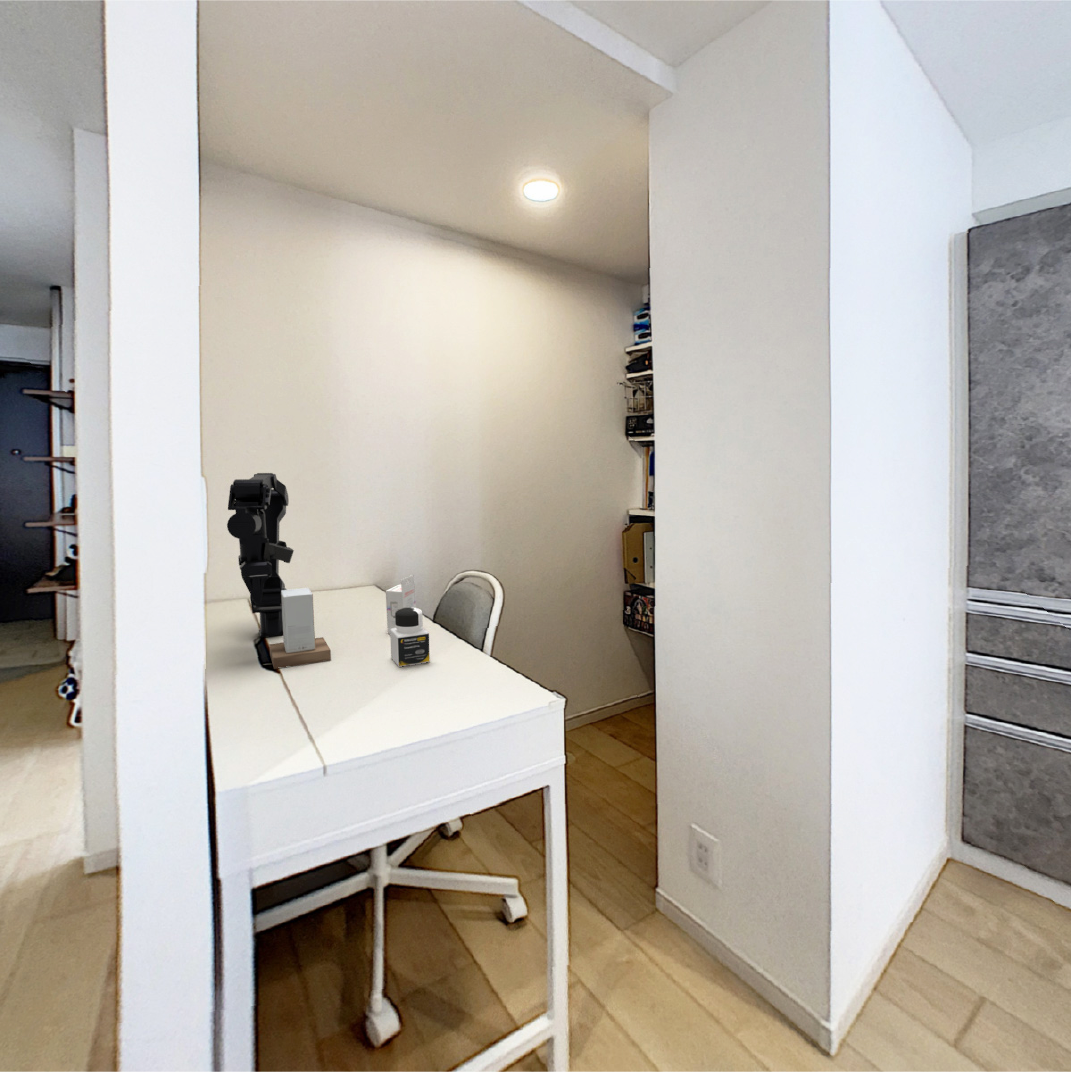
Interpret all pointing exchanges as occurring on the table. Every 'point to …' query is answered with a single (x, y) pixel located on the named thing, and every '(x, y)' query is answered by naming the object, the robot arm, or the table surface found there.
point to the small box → (298, 620)
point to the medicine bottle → (409, 638)
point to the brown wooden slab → (299, 654)
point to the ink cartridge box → (399, 599)
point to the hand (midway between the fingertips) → (256, 599)
